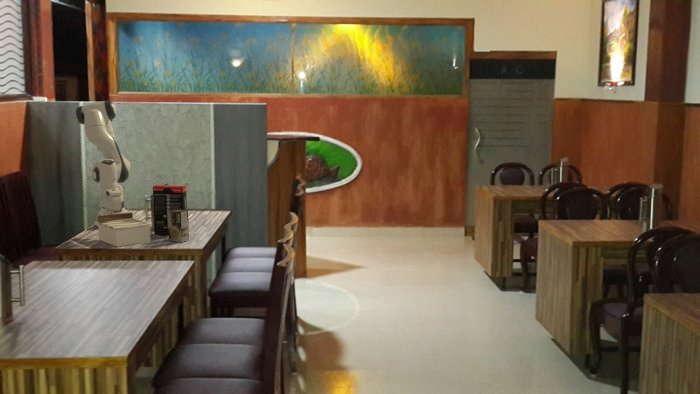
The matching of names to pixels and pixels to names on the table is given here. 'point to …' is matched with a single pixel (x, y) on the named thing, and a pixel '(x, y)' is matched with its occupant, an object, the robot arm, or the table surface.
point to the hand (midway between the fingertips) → (110, 216)
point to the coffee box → (178, 225)
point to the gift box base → (124, 235)
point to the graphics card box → (167, 205)
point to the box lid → (121, 221)
